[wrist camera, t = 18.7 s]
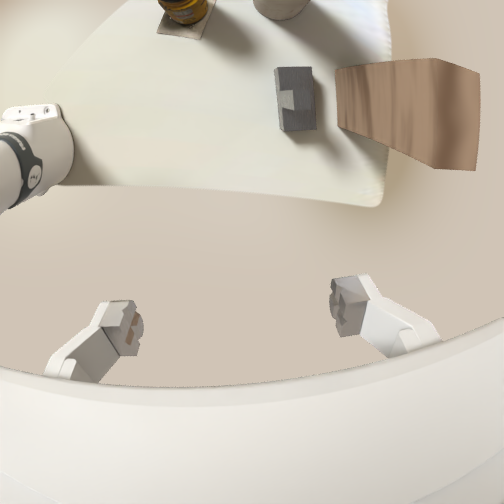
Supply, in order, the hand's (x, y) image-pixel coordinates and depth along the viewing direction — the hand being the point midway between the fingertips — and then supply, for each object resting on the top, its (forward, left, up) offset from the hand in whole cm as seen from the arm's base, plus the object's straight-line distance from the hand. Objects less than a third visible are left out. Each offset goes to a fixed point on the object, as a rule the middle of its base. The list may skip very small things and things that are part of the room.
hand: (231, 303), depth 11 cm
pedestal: (+14, +16, -37) cm, 43 cm away
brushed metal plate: (+3, +10, -30) cm, 32 cm away
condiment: (-16, +18, -37) cm, 45 cm away
